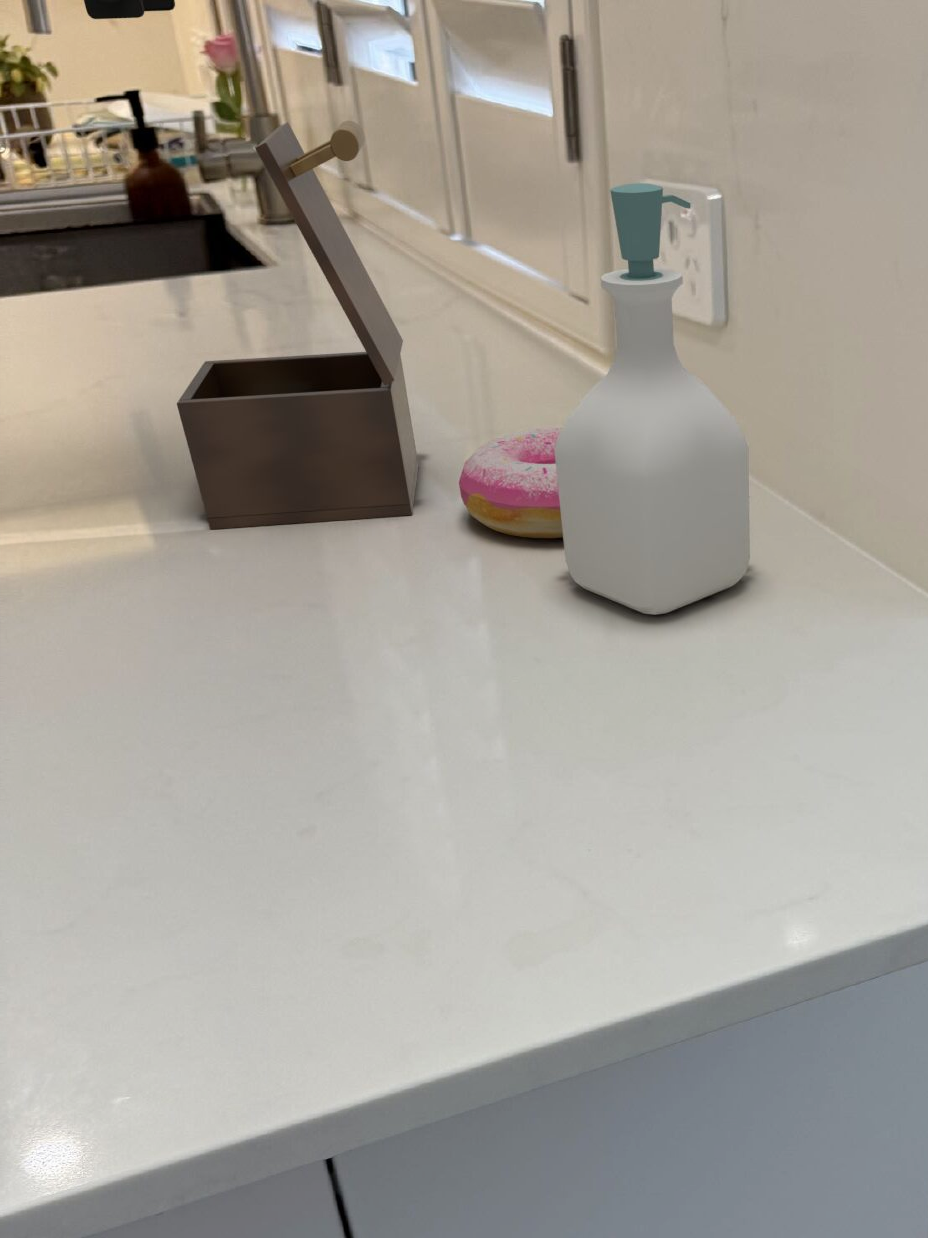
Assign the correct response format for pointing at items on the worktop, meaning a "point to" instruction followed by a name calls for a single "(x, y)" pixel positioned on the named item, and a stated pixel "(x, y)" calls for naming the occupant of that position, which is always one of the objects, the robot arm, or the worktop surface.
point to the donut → (515, 484)
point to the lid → (333, 236)
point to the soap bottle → (651, 448)
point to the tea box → (299, 440)
